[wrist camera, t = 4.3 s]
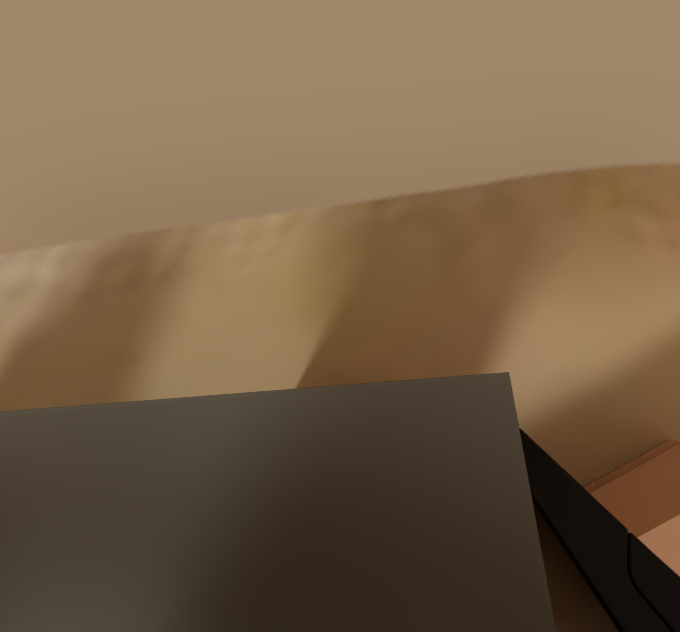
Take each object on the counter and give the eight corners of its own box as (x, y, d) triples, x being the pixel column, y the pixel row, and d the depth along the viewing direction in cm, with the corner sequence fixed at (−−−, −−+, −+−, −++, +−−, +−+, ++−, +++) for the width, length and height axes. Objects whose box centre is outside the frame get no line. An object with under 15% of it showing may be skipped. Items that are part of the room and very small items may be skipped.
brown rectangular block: (432, 496, 15) (624, 1013, 2) (294, 500, 15) (-72, 907, 3) (418, 386, 16) (508, 372, 3) (290, 396, 16) (0, 411, 4)
